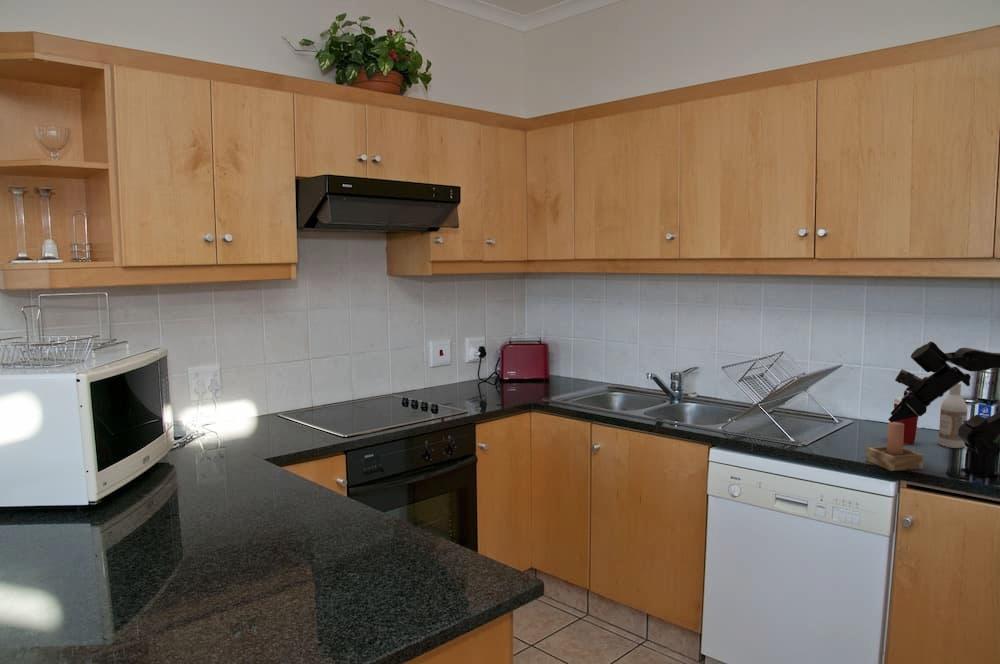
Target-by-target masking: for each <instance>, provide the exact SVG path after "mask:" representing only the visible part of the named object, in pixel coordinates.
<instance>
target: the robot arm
mask: <svg viewBox="0 0 1000 664" xmlns="http://www.w3.org/2000/svg"><path fill="white" fill-rule="evenodd" d="M910 358H911V359H912V360H913V361H914V363H916V364H917V365H918V366H919V367H920V368H922V370H924V372H926V373H932V374H931V375H929V376H925V377H923V378H921V377H919V376H917V375H916V374H914V373H912V372H910V371H907V370H905V369H900V371H899V373H898V374H897V376H896V378H895V379H894V380H895V382H897V383H898V384H902V385H904V386H906V388H905V390H904V392H903V396H902V397H903V398H902V400H901V402H900V403H899V404H898V405H897V406H896V407H895V409H894V408H893V409H892V411H891V412H890V415H891V416H889V418H888V421H889V422H895V421H899V420H904V419H908V418H913V417H918V418H919V417H922V416H923V415H924V414H926V413H927V409H928V408H927V407H929V406H931V403H933V402H934V401H935V400H937V399H938V398H942V397H943V396H944V394H945V393H947V392H948V391H950V389H951V388H952V387H954V386H955V385H957V384H958V383H961V382H962V383H963V384H964V385H965V386H966V387H970V386H971V385H970V384H971V383H970V381H971V378H972V376H971V374H970V373H964V372H963V371H961V370H960V369H963V370H965V371H968V372H980V371H988V370H991V369H999V368H1000V352H990V351H985V350H981V349H975V348H969V347H960V348H958V349H957V350H956V351H953V352H946V353H945V352H944V351H942V349H940V347H939V346H938V345H937V344H936V343H935V342H933V341H929V342H928V343H925V344H923V345H922V346H920V347H917V348H916V349H915V350H914V351H913V352H912V353H911V355H910ZM948 363H950V364H952V365H955V366H951V365H950V364H948ZM959 368H960V369H959ZM963 422H964V424H962V425H961V426H960V427H959V431H958V435H959V437H960V439H961V440H962V441H964V443H965V446H964V447H967V448H966V452H965V459H964V467H962V468H960V471H963V472H965V473H969V474H970V475H973V476H976V477H979V478H985V477H995V476H1000V473H999V472H996V471H995V470H996V459H997V457H998V456H999V455H1000V446H999V445H997V444H996V442H995V441H997V439H998V437H1000V411H997V412H996V413H994V414H993V415H989V416H987V417H983V416H981V415H980V414H974V416H972V417H970V418H969V419H967V421H963Z"/></svg>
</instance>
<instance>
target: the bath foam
mask: <svg viewBox="0 0 1000 664" xmlns="http://www.w3.org/2000/svg"><path fill="white" fill-rule="evenodd" d="M961 389H962V383H961V382H960V383H958V384H957V385H955V386H954V387H952V388H951V389H950V390H948V391H949V393H948V395H947V396H946V397H945V398H944V400H943V401H942V403H941V406H940V415H939V429H938V430H939V431H938V433H939V434H938V444H939V445H940V446H941V445H942V446H941V447H944V446H945V448H950V449H951V448H952V449H962V448H965V447H966V446H965V443H964V441H962V440H961V439H960V437H959V435H958V431H959V427H960V426H961V425H962V424H964V422H963V421H967V420H968V406H967V403H966V402H965V400H964V398H963V397H962V394H961V391H962V390H961Z"/></svg>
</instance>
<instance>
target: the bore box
mask: <svg viewBox="0 0 1000 664" xmlns="http://www.w3.org/2000/svg"><path fill="white" fill-rule="evenodd" d="M886 453H887V445H885V446H870V447H866V457H865V461H866V460H867V461H866V462H868V461H869V462H868V463H870V462H872V463H871V464H873V463H874V465H875V464H877V465H879V466H878V467H880V468H883V469H886V470H888V471H890V472H894V471H895V472H897V471H907V470H906V469H911V470H920V469H921V470H922V469H923V463H924V462H923V461H924V454H922V453H919V452H916V451H913V450H911V449H908V448H905V447H903V455H898V456H891V455H889V454H886ZM877 465H876V466H877Z"/></svg>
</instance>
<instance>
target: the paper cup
mask: <svg viewBox="0 0 1000 664" xmlns="http://www.w3.org/2000/svg"><path fill="white" fill-rule="evenodd" d="M903 397H904V396H899V397H898V396H896V397H894V398H893V401H892V403H893V410H894V409H895V407H896V406H897V405H898V404H899V403H900V402H901V400H902V398H903ZM895 422H898V423H903V424H904V438H903V445H914V444H915V442H916V437H917V436H916V435H917V427H918V422H919V416H918V417H913V418H908V419H904V420H899V421H895ZM913 443H914V444H913Z"/></svg>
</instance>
